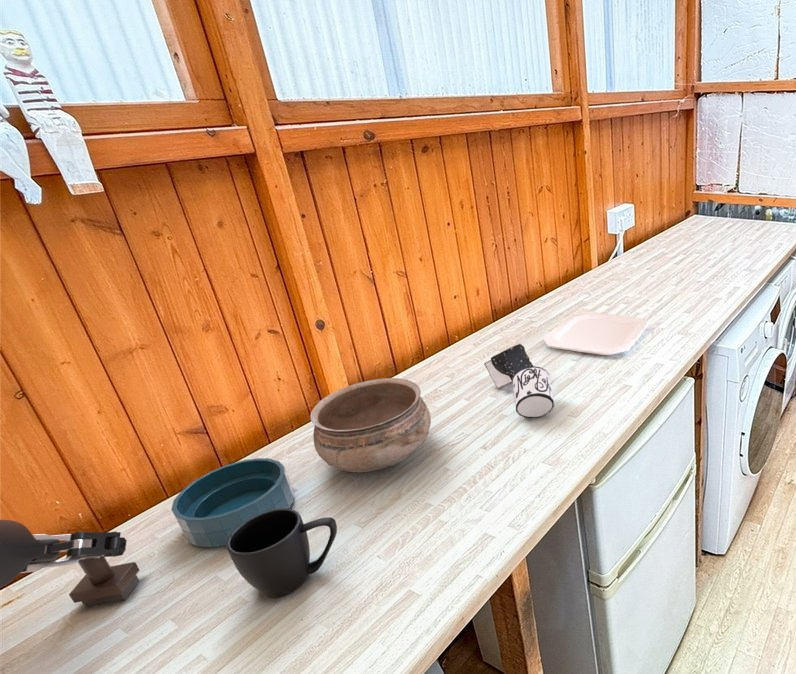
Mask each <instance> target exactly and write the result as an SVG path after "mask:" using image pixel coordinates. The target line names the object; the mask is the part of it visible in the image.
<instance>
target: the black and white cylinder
mask: <svg viewBox="0 0 796 674" xmlns="http://www.w3.org/2000/svg"><path fill="white" fill-rule="evenodd" d="M483 364H484V366H485V368H486V370H487V372H488V374H489V376H490V377H491V379H492V381H493V383H494V384H495V387H496V389H501V388H503V387H505V386H508V385H510V384H512V388H513V397H514V404H515V405H514V406H515V411H516V414H517V415H519V416H520V417H522V418H526V419H537V418H538V419H539V418H542V417H544V416H546V415H547V414H549V413H551V411H552V410H553V408H554V404H555V402H554V397H553V391H552V386H551V379H550V374H549V373H548V370H546V369H544V368H543V367H540V366H534V364H533V363H532V361H531V360H530V356H529V355H528V354H527V352H526V348H525V346H524V345H523V344H521V343H518V344H515V345H513V346H510V347H509V348H507V349H505V350H503V351H501V352H498V353H497V354H495V355H492V357H490V360H487V361H486V362H484V363H483Z"/></svg>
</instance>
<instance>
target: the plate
mask: <svg viewBox="0 0 796 674" xmlns="http://www.w3.org/2000/svg"><path fill="white" fill-rule="evenodd" d="M648 327H649V323H648V322H647V321H646V320H644V319H643V318H642V317H640V316H633V315H632V316H631V315H622V314H615V313H605V312H597V311H588V310H587V311H581V312H576V313H571V314H569V316H567V317H566V318H564V320H562V321H561V322H560V323H559V324H558V325H556V326H555V327H554V328H552V329H551V330H550V331H549V332H547V334H545V335H544V336H543V337H542V340H543V342H544V343H545V345H546V346H547V347H549V348H553V349H558V350H565V351H571V352H577V353H586V354H592V355H600V356H612V355H617V354H622V353H626V352H628V351H630V349H631V348H632V347H633V346H634V345H635V343H636V342H637V341H638V339H639V338H640V337H641V336H642V335H643V333H644V332H645V331H646V329H648Z"/></svg>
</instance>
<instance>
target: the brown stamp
mask: <svg viewBox="0 0 796 674" xmlns="http://www.w3.org/2000/svg"><path fill="white" fill-rule="evenodd" d="M82 532H89V531H87V530H84V531H82ZM65 542H67V541H66V540H65ZM77 563H78V565H79V566H80V568H81V569H82V571H83V572H84V574H85V575H84V576H83V577H82V578H81V579H80V580H79V582H78V583H77V584H76V585H75V587H73V589H72V590H71V591H70V592H69V593H68V596H69V597H70V599H71V600H72V602H73V603H74V604H76V603H82V605H83V606H84V608H85V609H89V608H93V607H100V606H103V605H109V604H113V603H119V602H125V601H127V599H128V597H129V596H130V595H131V594H132V592H133V591H134V590H135V588H136V587H137V586H138V584H139V583H140V579H139V577H138V576H137V574H138V573H139V572H140V567H139V566H138V564H137V562H136V561H132V562H128V563H121V564H116V565H110V563H109V561H108V560H107V557H100V558H97V559H94V558H88V559H80V560H79V561H78V562H77Z"/></svg>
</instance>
